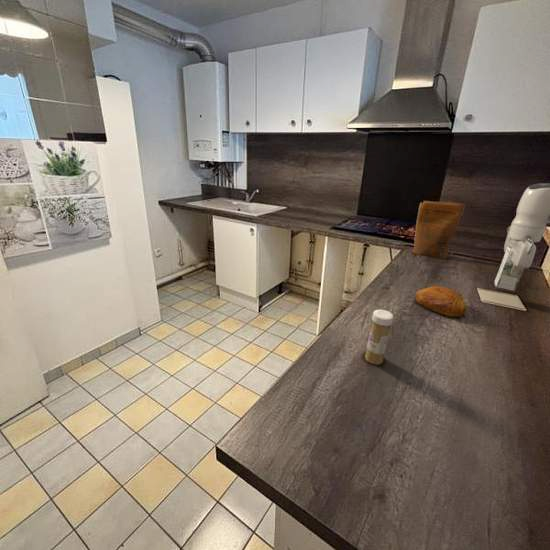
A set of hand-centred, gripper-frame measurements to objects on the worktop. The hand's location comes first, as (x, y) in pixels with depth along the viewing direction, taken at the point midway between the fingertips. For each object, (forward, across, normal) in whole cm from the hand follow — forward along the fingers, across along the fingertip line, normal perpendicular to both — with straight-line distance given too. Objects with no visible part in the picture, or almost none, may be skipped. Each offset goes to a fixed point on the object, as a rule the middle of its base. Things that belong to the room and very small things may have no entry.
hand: (510, 271), depth 103 cm
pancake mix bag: (+11, +41, +24) cm, 49 cm away
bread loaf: (+11, -18, +20) cm, 29 cm away
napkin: (+11, 0, 0) cm, 11 cm away
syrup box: (+6, 0, 0) cm, 6 cm away
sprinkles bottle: (+11, -58, +36) cm, 69 cm away
